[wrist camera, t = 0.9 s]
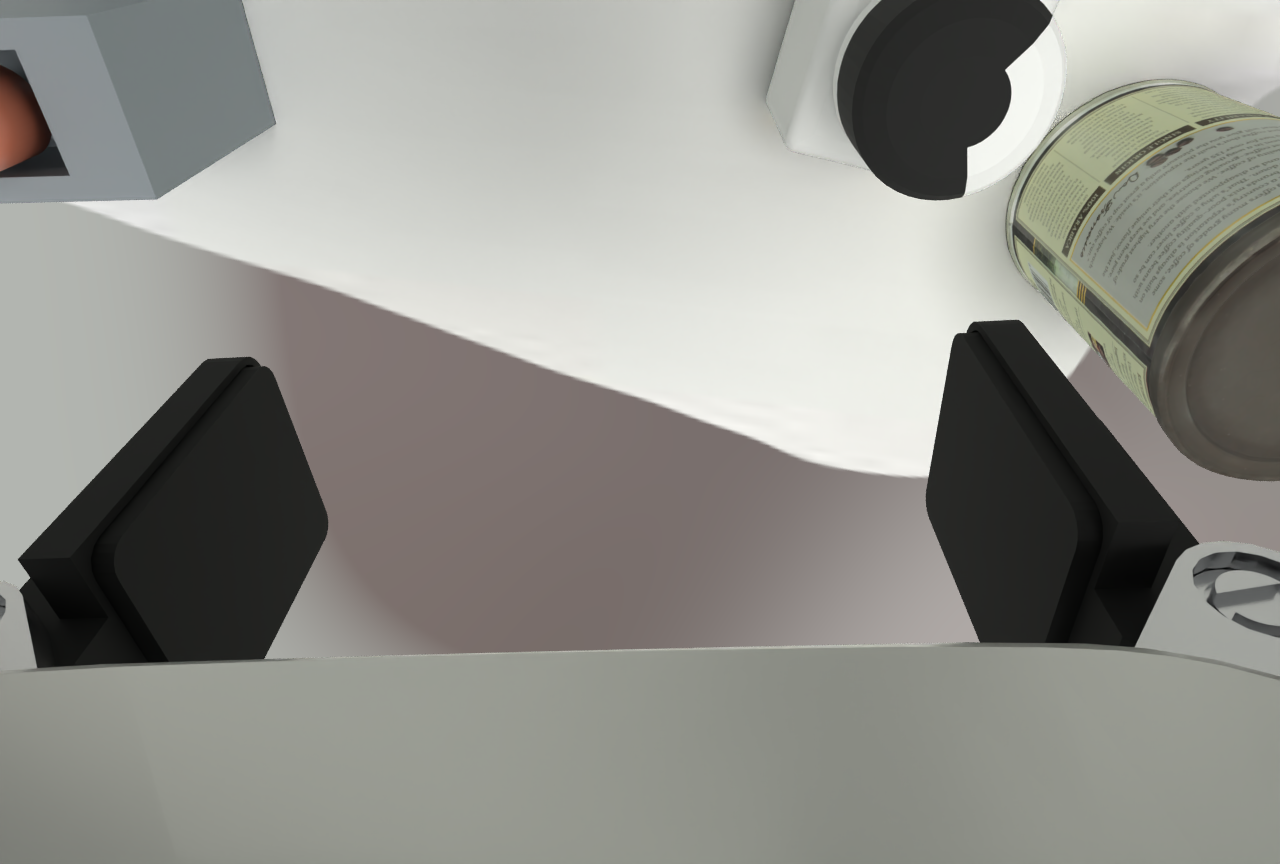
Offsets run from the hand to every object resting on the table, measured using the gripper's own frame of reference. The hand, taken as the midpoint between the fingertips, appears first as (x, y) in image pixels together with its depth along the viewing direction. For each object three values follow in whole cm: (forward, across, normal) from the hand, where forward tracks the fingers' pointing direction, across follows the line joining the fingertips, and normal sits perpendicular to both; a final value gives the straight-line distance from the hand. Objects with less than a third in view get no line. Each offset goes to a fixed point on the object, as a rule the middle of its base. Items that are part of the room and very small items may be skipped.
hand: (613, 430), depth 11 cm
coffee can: (+27, -21, +7) cm, 35 cm away
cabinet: (+27, +21, -1) cm, 34 cm away
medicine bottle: (+27, -9, 0) cm, 29 cm away
